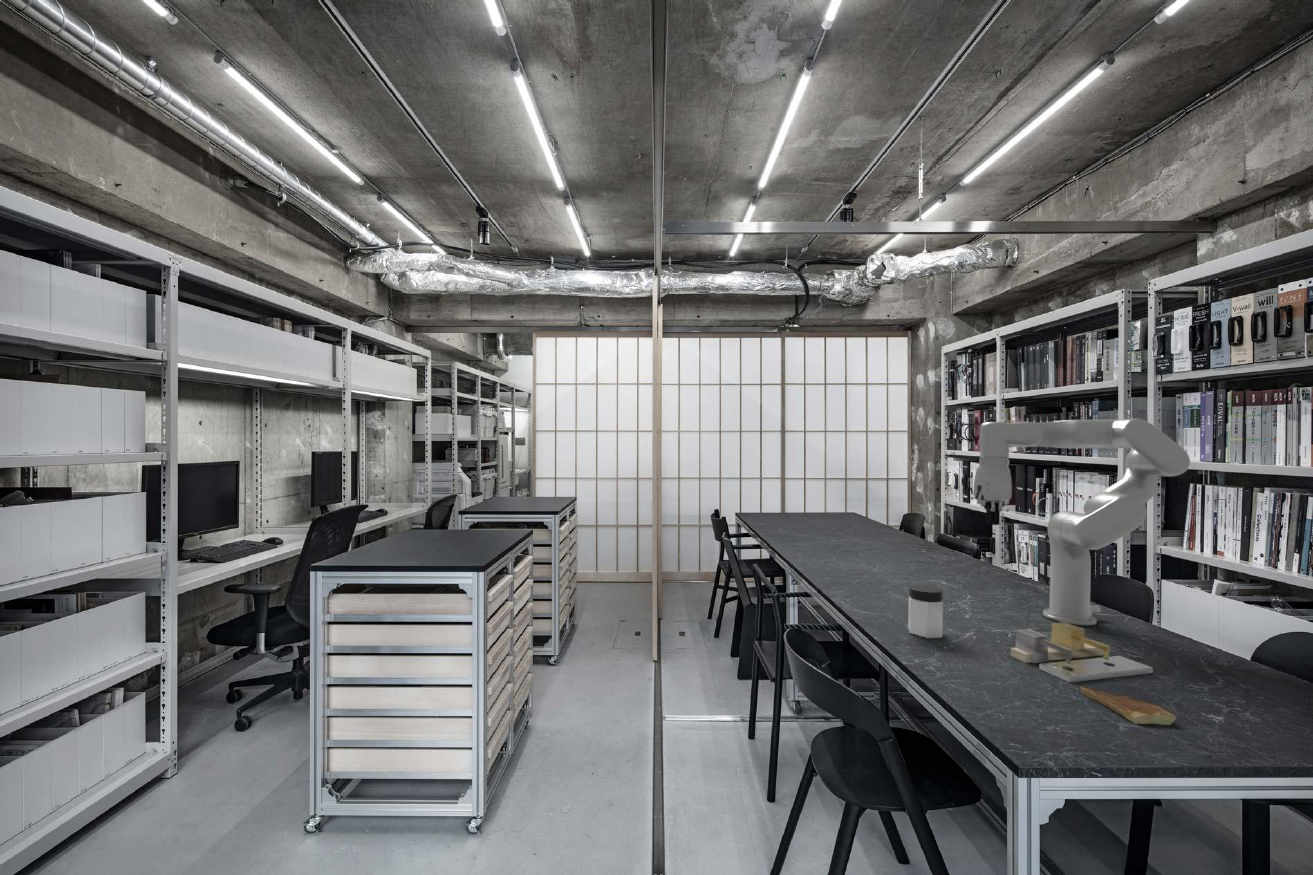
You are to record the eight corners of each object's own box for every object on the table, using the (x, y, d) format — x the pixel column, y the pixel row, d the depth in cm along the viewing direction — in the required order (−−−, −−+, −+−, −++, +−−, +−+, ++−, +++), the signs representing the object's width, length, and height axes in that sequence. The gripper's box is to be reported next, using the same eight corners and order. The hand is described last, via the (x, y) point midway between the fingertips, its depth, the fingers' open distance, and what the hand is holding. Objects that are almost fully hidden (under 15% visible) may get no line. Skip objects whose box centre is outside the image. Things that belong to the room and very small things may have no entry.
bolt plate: (1119, 660, 131) (1119, 655, 131) (1152, 672, 124) (1152, 667, 124) (1039, 668, 125) (1039, 663, 125) (1069, 682, 118) (1069, 676, 118)
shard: (1078, 693, 114) (1078, 682, 114) (1123, 694, 114) (1124, 684, 114) (1131, 726, 101) (1131, 714, 101) (1183, 727, 101) (1183, 716, 101)
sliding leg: (1064, 641, 137) (1064, 622, 137) (1114, 660, 125) (1115, 639, 125) (1051, 642, 136) (1051, 623, 136) (1101, 661, 124) (1101, 640, 124)
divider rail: (1085, 648, 139) (1086, 624, 139) (1137, 667, 127) (1138, 641, 127) (1008, 655, 133) (1009, 630, 133) (1056, 676, 121) (1056, 649, 121)
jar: (948, 634, 147) (949, 589, 147) (935, 641, 141) (936, 594, 142) (915, 625, 154) (916, 582, 154) (901, 631, 148) (901, 586, 148)
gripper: (1003, 462, 171) (1002, 522, 171) (963, 462, 167) (962, 522, 167) (1025, 464, 164) (1023, 525, 163) (983, 463, 160) (982, 526, 160)
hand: (992, 524), depth 165 cm, fingers closed
